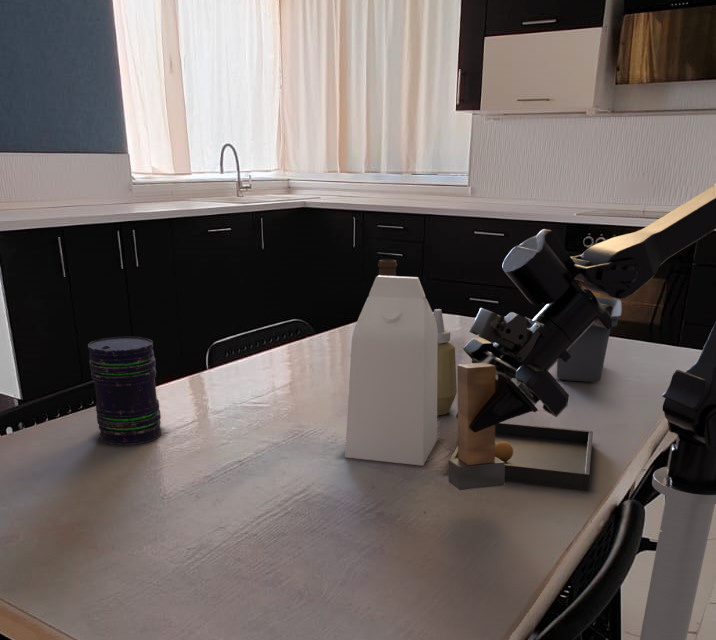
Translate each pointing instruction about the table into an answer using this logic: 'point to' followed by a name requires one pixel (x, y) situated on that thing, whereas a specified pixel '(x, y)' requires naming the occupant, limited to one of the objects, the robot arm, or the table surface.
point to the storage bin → (589, 350)
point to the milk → (393, 375)
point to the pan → (546, 455)
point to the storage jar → (125, 390)
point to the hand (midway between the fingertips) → (464, 424)
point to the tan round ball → (503, 451)
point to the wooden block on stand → (475, 447)
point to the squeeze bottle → (445, 367)
